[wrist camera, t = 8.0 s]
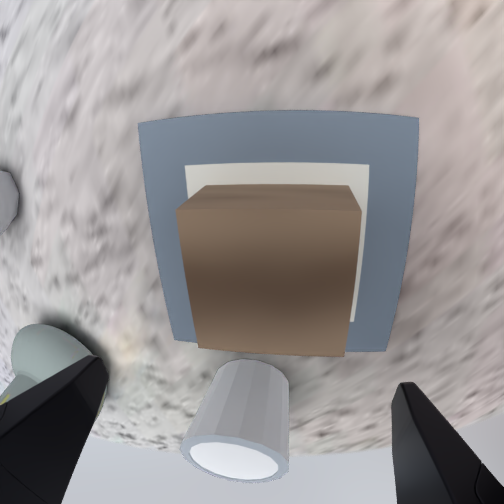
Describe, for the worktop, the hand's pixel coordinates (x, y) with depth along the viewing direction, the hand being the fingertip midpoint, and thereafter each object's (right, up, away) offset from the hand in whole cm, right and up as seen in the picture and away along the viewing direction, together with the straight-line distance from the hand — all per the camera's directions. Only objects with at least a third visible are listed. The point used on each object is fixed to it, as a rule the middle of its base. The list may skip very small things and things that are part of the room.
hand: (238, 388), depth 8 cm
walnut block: (+2, +4, +8) cm, 9 cm away
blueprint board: (+2, +4, +9) cm, 10 cm away
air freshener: (-16, -6, +17) cm, 25 cm away
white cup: (0, -6, +14) cm, 15 cm away
